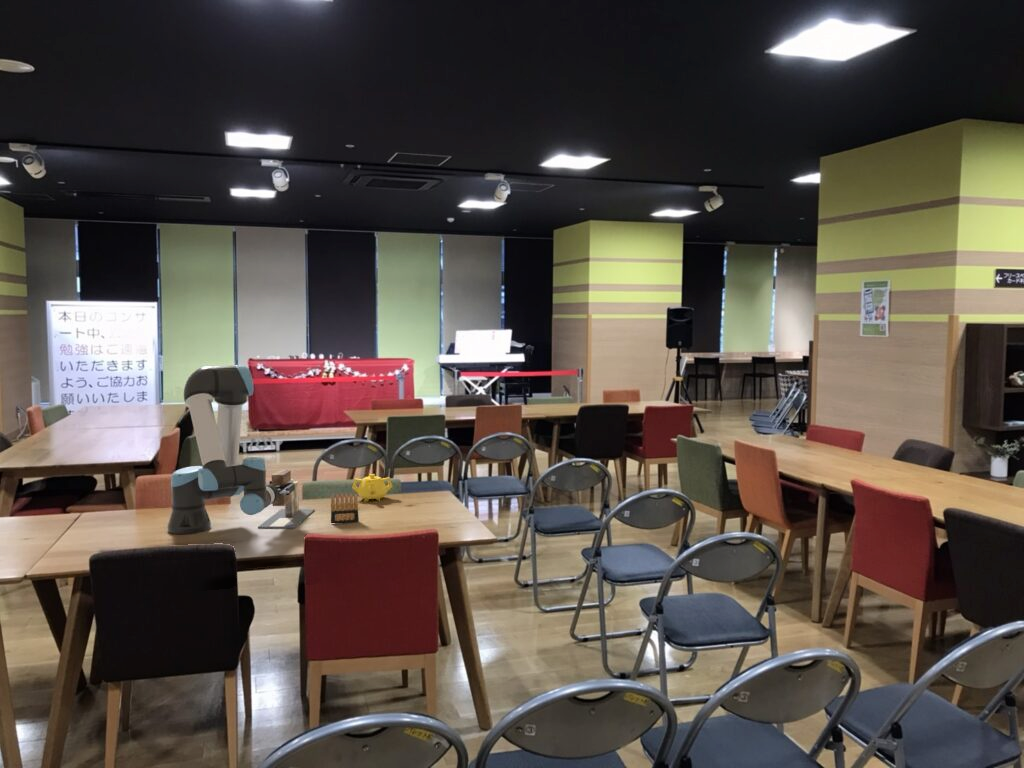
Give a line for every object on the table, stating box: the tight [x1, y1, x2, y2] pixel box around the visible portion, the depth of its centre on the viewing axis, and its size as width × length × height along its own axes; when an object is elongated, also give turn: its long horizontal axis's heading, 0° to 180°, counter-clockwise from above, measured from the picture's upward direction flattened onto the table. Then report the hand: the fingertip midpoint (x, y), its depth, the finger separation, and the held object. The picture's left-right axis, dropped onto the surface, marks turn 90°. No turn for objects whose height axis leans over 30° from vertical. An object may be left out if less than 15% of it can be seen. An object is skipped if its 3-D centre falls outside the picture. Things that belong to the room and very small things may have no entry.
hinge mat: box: [257, 508, 316, 529], centre depth 306 cm, size 28×14×1 cm, turn 178°
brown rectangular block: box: [271, 469, 292, 507], centre depth 297 cm, size 4×10×12 cm, turn 178°
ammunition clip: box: [330, 491, 360, 524], centre depth 300 cm, size 11×2×12 cm, turn 107°
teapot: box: [351, 473, 394, 502], centre depth 339 cm, size 20×18×11 cm
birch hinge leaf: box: [284, 480, 300, 517], centre depth 312 cm, size 12×3×13 cm, turn 178°
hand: (286, 482), depth 302 cm, fingers closed on brown rectangular block, 4 cm apart
